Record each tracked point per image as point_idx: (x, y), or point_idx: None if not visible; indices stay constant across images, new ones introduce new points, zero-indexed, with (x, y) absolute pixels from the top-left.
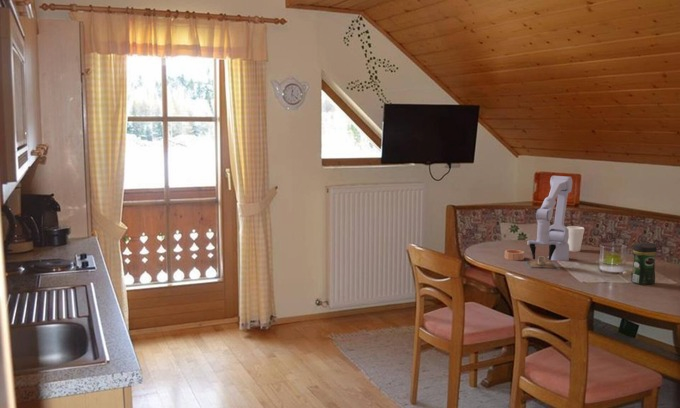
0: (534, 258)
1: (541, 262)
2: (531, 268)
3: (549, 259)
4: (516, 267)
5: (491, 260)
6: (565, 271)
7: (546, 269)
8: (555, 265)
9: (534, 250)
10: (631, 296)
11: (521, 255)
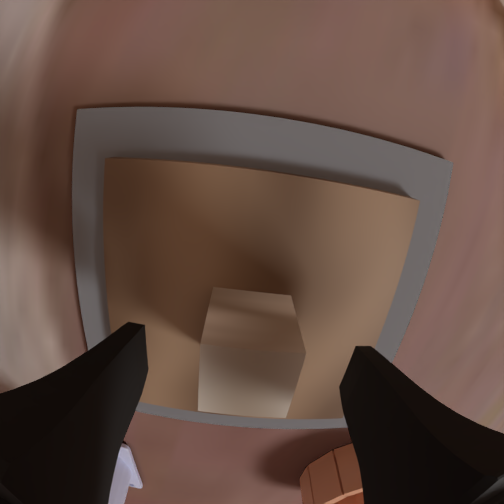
0: (369, 350)
1: (264, 306)
2: (415, 179)
3: (141, 325)
4: (485, 265)
5: (485, 412)
6: (53, 105)
7: (250, 119)
8: (96, 316)
9: (444, 430)
10: None
11: (349, 478)
